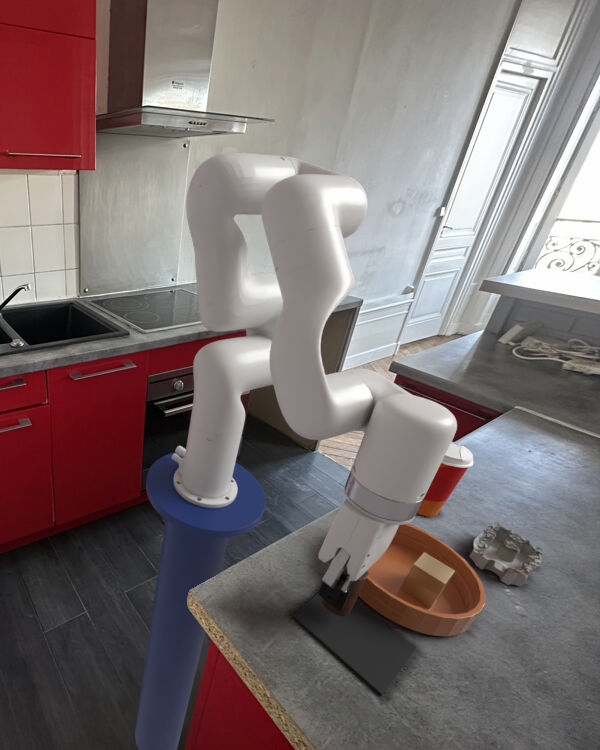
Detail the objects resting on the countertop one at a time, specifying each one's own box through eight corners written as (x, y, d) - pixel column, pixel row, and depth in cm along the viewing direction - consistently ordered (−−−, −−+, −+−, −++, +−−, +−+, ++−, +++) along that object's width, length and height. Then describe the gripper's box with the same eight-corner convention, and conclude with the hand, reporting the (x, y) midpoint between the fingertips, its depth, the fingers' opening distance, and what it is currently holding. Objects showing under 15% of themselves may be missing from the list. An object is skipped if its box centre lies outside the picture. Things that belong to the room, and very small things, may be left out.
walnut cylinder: (314, 599, 59) (328, 562, 56) (328, 585, 61) (343, 549, 58) (342, 621, 56) (358, 584, 53) (356, 606, 58) (373, 570, 55)
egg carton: (517, 593, 64) (530, 575, 62) (460, 557, 70) (470, 540, 68) (541, 564, 69) (553, 547, 67) (486, 533, 75) (496, 516, 73)
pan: (313, 566, 67) (321, 546, 65) (366, 520, 77) (374, 502, 75) (444, 665, 54) (459, 645, 52) (489, 595, 64) (502, 575, 62)
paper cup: (405, 487, 85) (432, 431, 79) (450, 509, 80) (482, 451, 74) (390, 502, 81) (416, 444, 75) (435, 527, 76) (468, 467, 70)
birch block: (400, 588, 64) (413, 563, 61) (410, 575, 66) (424, 551, 63) (429, 608, 61) (445, 584, 58) (440, 595, 63) (455, 570, 60)
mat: (292, 617, 59) (293, 615, 59) (329, 583, 65) (329, 581, 64) (381, 696, 51) (382, 694, 50) (415, 649, 56) (416, 647, 56)
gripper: (380, 454, 57) (342, 548, 65) (314, 501, 48) (280, 603, 56) (444, 485, 51) (394, 583, 59) (383, 544, 43) (334, 650, 51)
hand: (339, 592), depth 58 cm, fingers closed on walnut cylinder, 4 cm apart
